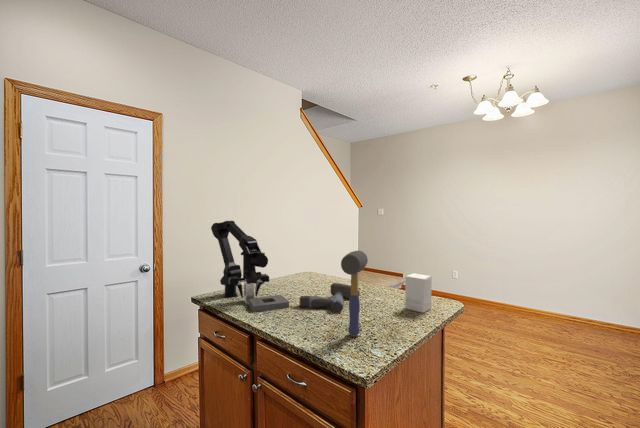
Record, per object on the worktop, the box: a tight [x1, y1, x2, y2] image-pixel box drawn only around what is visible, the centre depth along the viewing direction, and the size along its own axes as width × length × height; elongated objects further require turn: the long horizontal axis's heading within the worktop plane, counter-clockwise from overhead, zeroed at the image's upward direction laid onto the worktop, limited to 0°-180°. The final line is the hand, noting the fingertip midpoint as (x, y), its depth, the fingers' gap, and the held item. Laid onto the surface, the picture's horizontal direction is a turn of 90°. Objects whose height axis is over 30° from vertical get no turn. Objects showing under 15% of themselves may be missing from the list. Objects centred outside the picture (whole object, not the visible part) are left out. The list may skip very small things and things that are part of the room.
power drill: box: [298, 292, 345, 314], centre depth 136 cm, size 5×19×20 cm
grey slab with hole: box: [248, 294, 290, 313], centre depth 134 cm, size 12×16×2 cm
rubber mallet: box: [340, 250, 369, 337], centre depth 103 cm, size 12×8×30 cm, turn 158°
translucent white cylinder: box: [243, 282, 255, 304], centre depth 140 cm, size 4×4×9 cm
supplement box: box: [404, 273, 432, 313], centre depth 132 cm, size 9×9×15 cm
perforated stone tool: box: [329, 282, 361, 299], centre depth 148 cm, size 15×5×7 cm, turn 68°
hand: (249, 297), depth 140 cm, fingers open, 6 cm apart
